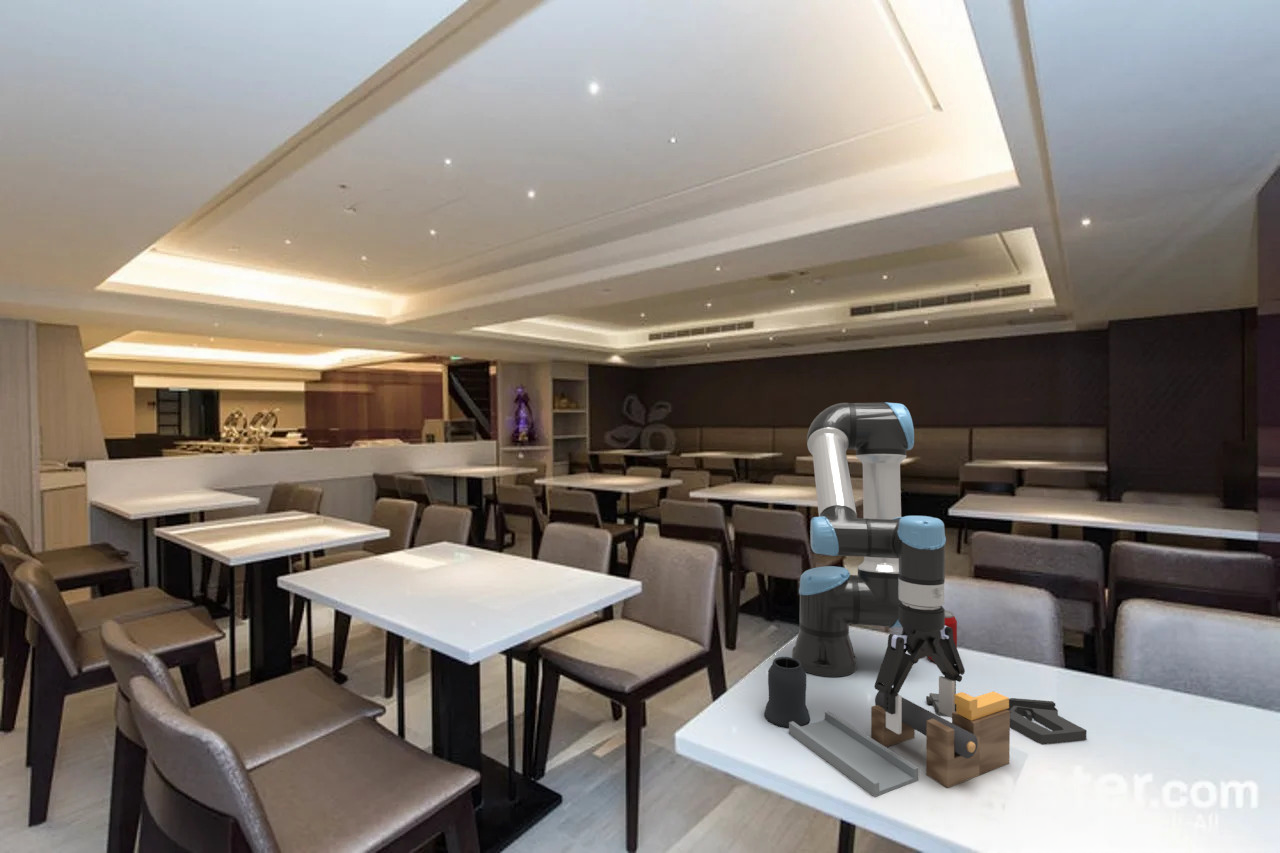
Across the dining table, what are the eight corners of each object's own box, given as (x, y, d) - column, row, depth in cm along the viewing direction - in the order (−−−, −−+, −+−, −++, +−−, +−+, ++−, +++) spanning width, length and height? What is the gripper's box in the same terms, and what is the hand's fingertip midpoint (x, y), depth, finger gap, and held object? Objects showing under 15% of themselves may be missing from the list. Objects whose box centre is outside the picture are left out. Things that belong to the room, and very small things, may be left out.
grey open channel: (788, 733, 114) (788, 722, 114) (828, 721, 118) (828, 711, 118) (874, 796, 95) (874, 783, 95) (918, 780, 99) (918, 767, 99)
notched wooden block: (926, 774, 100) (926, 720, 100) (987, 751, 107) (987, 701, 107) (947, 788, 97) (947, 732, 97) (1009, 763, 104) (1009, 710, 103)
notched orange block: (954, 713, 102) (954, 694, 102) (993, 701, 107) (993, 682, 107) (969, 721, 100) (969, 701, 100) (1008, 708, 104) (1009, 689, 104)
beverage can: (946, 654, 151) (946, 607, 151) (962, 665, 144) (963, 616, 144) (921, 655, 150) (921, 608, 150) (936, 666, 144) (936, 617, 143)
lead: (872, 710, 113) (872, 689, 113) (887, 705, 115) (888, 685, 115) (964, 762, 96) (964, 738, 96) (980, 756, 98) (980, 732, 98)
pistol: (1097, 740, 108) (1057, 701, 122) (944, 725, 113) (924, 689, 128) (1096, 752, 108) (1056, 711, 122) (944, 736, 113) (923, 699, 128)
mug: (811, 731, 114) (812, 674, 114) (763, 726, 116) (764, 669, 116) (807, 702, 126) (808, 649, 126) (764, 697, 128) (764, 646, 128)
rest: (871, 739, 111) (871, 706, 111) (901, 730, 115) (901, 697, 115) (883, 747, 109) (884, 713, 108) (914, 737, 112) (914, 704, 112)
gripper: (887, 619, 97) (887, 748, 97) (986, 600, 108) (986, 716, 108) (853, 607, 104) (852, 727, 104) (949, 590, 114) (949, 699, 114)
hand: (920, 722), depth 106 cm, fingers open, 13 cm apart
